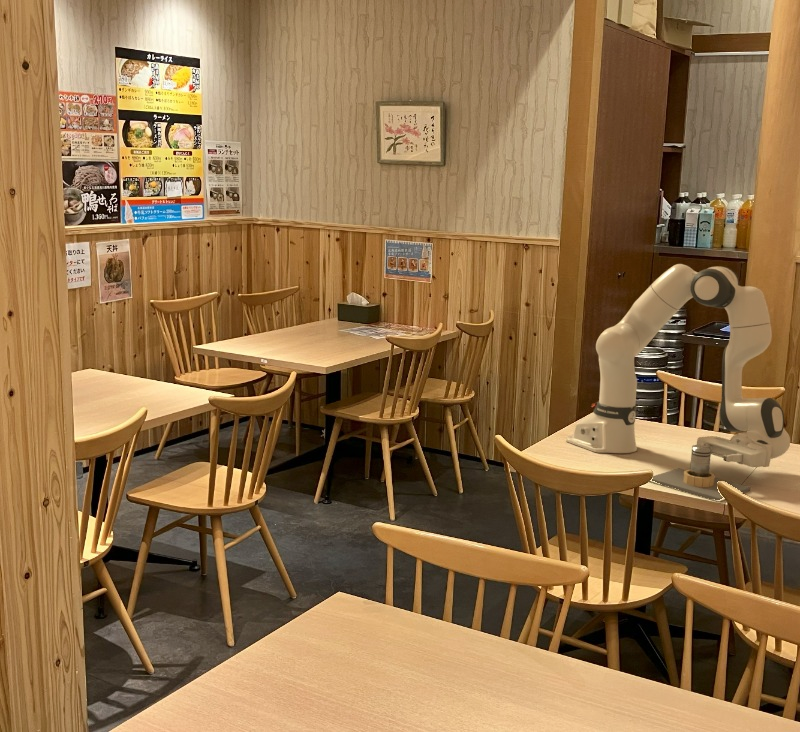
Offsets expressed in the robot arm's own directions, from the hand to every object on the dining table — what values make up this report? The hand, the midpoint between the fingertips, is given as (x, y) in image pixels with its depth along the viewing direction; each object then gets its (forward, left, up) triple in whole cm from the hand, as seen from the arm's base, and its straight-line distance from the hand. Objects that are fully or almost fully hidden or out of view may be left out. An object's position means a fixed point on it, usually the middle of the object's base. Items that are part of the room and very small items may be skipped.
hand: (711, 454), depth 267 cm
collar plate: (-1, -4, -9) cm, 10 cm away
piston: (-1, -4, -8) cm, 9 cm away
